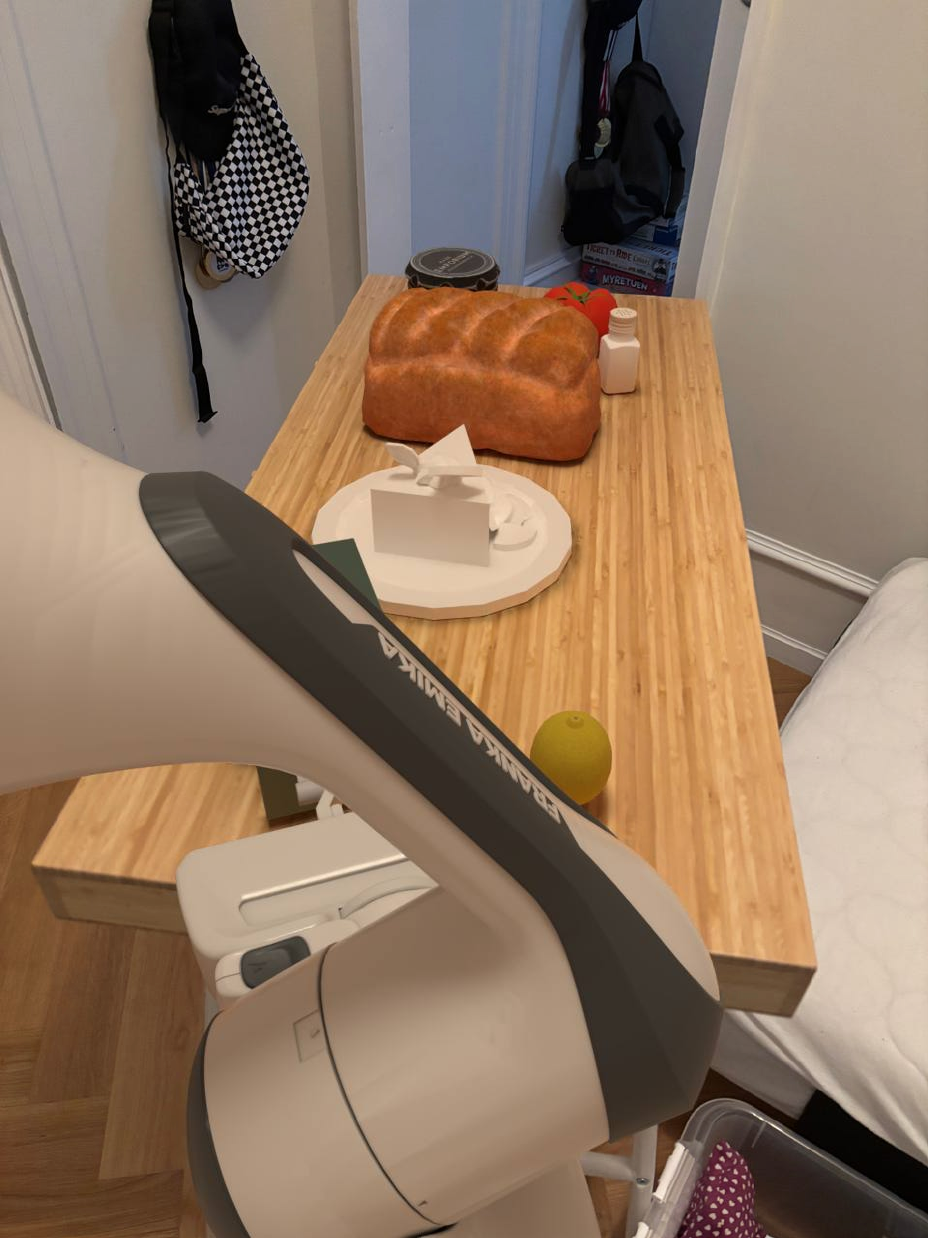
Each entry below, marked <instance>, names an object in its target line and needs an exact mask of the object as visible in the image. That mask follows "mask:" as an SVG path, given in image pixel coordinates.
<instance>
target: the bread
mask: <svg viewBox="0 0 928 1238" xmlns="http://www.w3.org/2000/svg"><path fill="white" fill-rule="evenodd" d="M598 353H599V350H598V332H597V329H596V328H595V326H594V325H593V323H592V322H591V321H590V320H589V319H588V318H587V317H586V316H585V315H584V314H583V313H581V312H579V311H578V310H576V309H575V308H574V307H572V306H568V307H565V306H564V305H563V304H562V303H561V302H559V301H557V300H555V299H551V298H547V297H542V296H541V297H540V296H539V297H530V298H529V297H527V298H523V297H521V296H519V295H517V294H515V293H511V292H505V291H478V292H472V291H469V290H465V289H458V288H451V287H440V288H435V289H431V290H426V289H424V288H412V289H408V288H407V289H405V290H403V291H402V292H400V293H399V294H396V295H395V296H393V297H392V298H390V299H389V300H388V302H387V303H385V305H384V306H383V307H382V308H381V310H380V311H379V312H378V314H377V316H376V318H375V319H374V320H373V323H372V325H371V328H370V331H369V341H368V354H369V355H368V356H367V359H366V362H365V364H364V368H363V370H364V371H363V376H364V379H363V380H364V387H363V394H362V401H361V416H362V417H361V418H362V422H363V423H364V424H365V425H366V426H367V427H368V428H369V429H370V430H372V431H373V432H374V433H375V435H378V436H382V437H386V438H391V439H395V440H401V441H402V440H403V441H412V442H423V443H431V444H432V443H433V444H436V443H437V442H438V441H440V440H441V439H443V438H444V437H446V436H447V435H449V434H450V433H451V432H453V431H454V430H456V429H457V428H459V427H460V426H461V425H463V424H464V426H465V429H466V432H467V435H468V438H469V441H470V444H471V447H472V450H483V449H491V450H493V451H496V452H499V453H501V454H506V455H511V456H516V457H523V458H529V459H537V460H544V461H546V460H547V461H558V462H565V461H566V462H567V461H571V460H572V461H573V460H576V459H580V458H582V457H584V456H585V455H586V453H587V451H588V450H589V448H590V446H591V445H592V442H593V438H594V434H595V433H596V432H597V431H598V430H599V426H600V422H601V417H602V409H601V404H600V402H601V392H602V391H601V390H602V388H601V377H600V368H599V365H598V363H599V361H598V360H597V355H598Z"/></svg>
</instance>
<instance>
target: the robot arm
mask: <svg viewBox="0 0 928 1238" xmlns="http://www.w3.org/2000/svg"><path fill="white" fill-rule="evenodd" d="M311 545H312V544H310V542H308V540H306V539H305V538H304V537H302V535H301V534H299V533H298V532H297V531H295V530H294V529H293V528H292V527H291V526H290V525H288V523H286V522H285V521H283V520H282V519H281V518H280V517H279V516H277V515H276V514H275V513H274V512H273V511H271V509H269V508H267V507H266V506H265V505H263V504H262V503H260V502H258V500H256V499H254V498H253V497H251V495H249V494H247V493H246V492H245V491H244V490H242V489H240V488H238V487H236V486H235V485H233V484H231V483H230V482H228V481H226V480H224V479H223V478H221V477H220V476H217V475H216V474H213V473H211V472H208V471H204V470H196V471H172V472H171V471H170V472H169V471H167V472H151V473H148V472H146V471H143V470H140V469H137V468H135V467H132V466H130V465H127V464H125V463H123V462H120V461H118V460H116V459H114V458H111V457H110V456H107V455H105V454H103V453H101V452H99V451H97V450H95V449H94V448H92V447H90V446H87V445H86V444H83V443H81V442H80V441H78V440H77V439H75V438H73V437H72V436H70V435H68V434H66V433H65V432H63V431H61V430H60V429H58V428H57V427H55V426H54V425H53V424H51V423H49V422H48V421H47V420H46V419H44V418H43V417H41V416H40V415H38V414H37V413H36V412H34V411H33V410H31V409H30V408H29V407H28V406H26V405H25V404H24V403H23V402H22V401H21V400H19V399H18V398H17V397H16V396H15V395H13V394H12V393H11V392H9V390H7V389H6V388H5V387H4V386H3V385H1V384H0V796H3V795H7V794H12V793H15V792H16V793H17V792H20V791H24V790H28V789H33V788H36V787H37V788H38V787H42V786H45V785H50V784H54V783H59V782H63V781H68V780H74V779H79V778H80V779H81V778H83V777H90V776H95V775H100V774H107V773H113V772H121V771H129V770H134V769H135V770H136V769H145V768H153V767H154V768H155V767H162V766H163V767H164V766H174V765H188V764H236V765H245V766H247V765H249V766H255V767H256V766H261V767H266V768H271V769H277V770H281V771H284V772H287V773H290V774H293V775H296V776H299V777H302V778H304V779H306V780H309V781H311V782H313V783H314V784H316V785H318V786H320V787H321V788H323V789H325V790H324V792H323V794H322V796H321V799H320V801H319V803H318V805H317V807H316V809H315V812H316V818H317V819H316V820H313V821H309V822H304V823H300V824H296V825H292V826H287V827H283V828H279V829H276V830H275V829H274V830H271V831H267V832H263V833H259V834H254V835H251V836H247V837H246V836H245V837H243V838H238V839H233V840H230V841H226V842H222V843H218V844H213V845H209V846H203V847H201V848H195V849H192V850H191V851H188V853H187V854H186V855H185V856H184V857H183V859H182V860H181V861H180V863H179V865H177V866H176V867H177V868H176V869H175V871H174V878H175V879H174V881H175V886H176V893H177V898H178V904H179V908H180V911H181V914H182V918H183V921H184V925H185V928H186V931H187V936H188V938H189V942H190V945H191V948H192V952H193V954H194V957H195V960H196V962H197V966H198V968H199V970H200V973H201V975H202V978H203V981H204V983H205V986H206V988H207V990H208V991H209V993H210V995H211V996H212V998H213V999H214V1000H215V1001H216V1005H217V1011H218V1012H217V1013H216V1014H215V1015H213V1017H212V1018H211V1019H210V1021H209V1023H208V1025H207V1027H206V1029H205V1031H204V1033H203V1035H202V1037H201V1040H200V1042H199V1044H198V1046H197V1050H196V1053H195V1056H194V1058H193V1061H192V1066H191V1069H190V1076H189V1079H188V1080H189V1081H188V1088H187V1099H186V1113H185V1115H186V1116H185V1117H186V1118H185V1119H186V1120H185V1123H186V1125H185V1126H186V1127H185V1128H186V1132H185V1133H186V1147H187V1158H188V1164H189V1170H190V1175H191V1180H192V1184H193V1185H192V1186H193V1188H194V1193H195V1196H196V1199H197V1203H198V1205H199V1208H200V1210H201V1213H202V1215H203V1217H204V1220H205V1222H206V1224H207V1226H208V1228H209V1229H210V1231H211V1233H212V1234H213V1236H214V1237H215V1238H602V1234H601V1231H600V1230H601V1229H600V1225H599V1222H598V1217H597V1214H596V1211H595V1206H594V1204H593V1200H592V1199H593V1198H592V1195H591V1192H590V1189H589V1186H588V1182H587V1179H586V1175H585V1172H584V1169H583V1166H582V1163H581V1159H580V1156H582V1155H584V1154H586V1153H587V1152H590V1151H591V1150H593V1149H595V1148H597V1147H599V1146H601V1145H602V1144H604V1143H606V1142H608V1143H609V1144H610V1145H612V1144H615V1143H618V1142H619V1141H622V1140H624V1139H627V1138H630V1137H631V1136H633V1135H635V1134H638V1133H641V1132H643V1131H645V1130H647V1129H650V1128H653V1127H654V1126H658V1125H659V1124H662V1123H664V1122H666V1121H669V1120H671V1119H674V1118H677V1117H678V1116H681V1115H683V1114H685V1113H688V1112H689V1111H692V1110H693V1109H694V1107H695V1105H696V1103H697V1100H698V1098H699V1096H700V1093H701V1091H702V1088H703V1086H704V1083H705V1080H706V1078H707V1075H708V1072H709V1070H710V1068H711V1067H710V1066H711V1064H712V1061H713V1058H714V1055H715V1051H716V1048H717V1044H718V1041H719V1037H720V1033H721V1029H722V1024H723V1018H724V1013H725V1009H726V1003H725V999H724V995H723V993H722V991H721V988H720V986H719V981H718V976H717V973H716V969H715V966H714V962H713V959H712V957H711V954H710V952H709V950H708V947H707V945H706V943H705V940H704V938H703V936H702V934H701V932H700V930H699V928H698V927H697V925H696V923H695V921H694V919H693V917H692V916H691V915H690V913H689V911H688V909H687V908H686V906H685V905H684V904H683V902H682V901H681V899H680V898H679V896H678V895H677V894H676V892H675V891H674V889H673V888H672V887H671V886H670V884H669V883H668V882H667V881H666V879H664V878H663V876H662V875H661V874H660V873H659V872H658V871H657V870H656V868H654V867H653V865H651V864H650V862H648V861H647V860H646V859H645V858H643V857H642V856H641V855H640V854H639V853H638V852H637V851H635V850H634V849H632V847H630V846H628V845H627V844H626V843H624V842H623V841H622V840H620V838H618V836H617V835H616V834H614V832H613V831H611V830H610V829H609V827H607V826H606V825H604V823H602V822H601V821H600V820H599V819H597V818H596V817H595V816H594V815H592V814H591V812H589V811H588V810H586V809H585V808H584V807H582V805H579V804H577V803H576V802H575V801H574V800H572V799H571V798H570V797H569V796H567V795H566V794H565V793H564V792H563V791H562V790H561V789H560V788H558V787H557V786H556V785H555V784H554V783H553V782H552V781H551V780H550V779H549V778H548V777H547V776H546V775H545V774H544V773H543V772H542V771H541V770H540V769H539V768H538V767H537V766H536V765H535V764H534V763H533V762H532V761H531V760H530V757H528V756H527V755H526V754H525V753H524V752H523V751H522V750H521V749H520V748H519V747H518V746H517V745H516V744H515V743H514V742H513V740H511V739H510V738H509V737H508V736H507V735H506V734H505V733H504V732H503V731H502V730H501V728H499V727H498V726H497V725H496V724H495V723H494V722H493V720H491V719H490V718H489V717H488V716H487V715H486V714H485V713H484V712H483V711H482V710H481V709H480V708H479V707H478V706H477V705H476V704H475V703H474V702H473V701H472V700H471V699H470V698H469V697H468V696H467V695H466V694H465V693H464V692H463V691H462V690H461V689H460V688H459V687H458V686H457V685H456V683H454V682H453V680H451V678H450V677H448V676H447V675H446V674H445V673H444V672H443V671H442V670H441V669H440V668H439V667H438V666H437V664H435V663H434V661H432V660H431V658H430V657H429V656H427V655H426V654H425V652H423V651H422V649H420V648H419V647H418V645H416V644H415V642H413V641H412V640H411V639H410V638H409V636H407V634H405V633H404V632H403V631H402V630H401V629H400V628H399V627H398V626H397V625H396V624H395V623H394V622H393V621H392V620H391V619H390V618H389V617H388V616H387V615H386V614H385V613H384V612H383V613H382V612H381V611H380V610H379V609H378V608H377V607H376V606H375V605H374V604H373V603H372V602H371V601H370V600H369V599H368V598H367V597H366V596H365V595H363V594H362V593H361V592H360V591H359V590H358V589H357V588H356V587H355V586H354V585H353V584H352V583H351V582H350V581H349V580H348V579H347V578H346V577H345V576H344V575H342V574H341V573H340V572H339V571H338V570H337V569H336V568H335V567H334V566H333V565H332V564H331V563H330V562H329V561H328V560H326V559H325V558H324V557H323V556H322V555H321V554H320V553H319V552H318V551H317V550H316V549H315V548H313V547H312V546H311ZM343 806H345V807H347V808H348V809H349V810H350V812H346V813H344V809H343Z"/></svg>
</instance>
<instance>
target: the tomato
mask: <svg viewBox="0 0 928 1238" xmlns="http://www.w3.org/2000/svg"><path fill="white" fill-rule="evenodd" d="M543 297H547V298H551V299H555V300H557V301H559V302H561V303H562V304H563V305H564V306H565V307H568V306H572V307H574V308H575V309H576V310H578V311H579V312H581V313H583V314H584V315H585V316H586V317H587V318H588V319H589V320H590V321H591V322H592V323H593V325H594V326H595V328H596V329H597V332H598V351H600V344H601V338H602V337H603V336H604V335H607V334H609V320H610V311H611V310H613V309H616V308H619V307H618V303H617V299H616V298H615V297H614V296H613V295H612V293H610V291H609V290H608V289H607V288H596V289H594V290H590V289H589V288H588V287H587V286H586V285H585V284H583V283H579V282H576V281H574V282H565V283H562V286H553V287H552V288H551V289H550V290H548V292H546V293H545V294H544V295H543Z"/></svg>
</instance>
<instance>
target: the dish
mask: <svg viewBox="0 0 928 1238" xmlns="http://www.w3.org/2000/svg"><path fill="white" fill-rule="evenodd" d="M384 446H385V448H386V449H385V450H386V451H387V454H388V456H390V457H391V459H392V460H393V461H395V462H397V463H398V464H400V465H397V466H393V467H389V468H385V469H381V470H377V471H373V472H370V473H369V474H366V475H364V476H363V477H361V478H359V479H356V480H355V481H353V482H351V483H349V484H346V485H345V486H342V487H340V488H339V489H338V490H337V491H336V492H335V493H334V494H333V496H331V497H330V498H329V499H328V500H327V501H326V503H324V505H322V506H321V508H319V510H318V512H317V515H316V518H315V521H314V525H313V528H312V532H311V535H310V538H311V545H315V544H321V543H327V542H333V541H339V540H345V539H351V538H354V540H355V543H356V546H357V548H358V551H359V553H360V556H361V558H362V561H363V563H364V566H365V568H366V571H367V573H368V576H369V579H370V581H371V584H372V586H373V589H374V591H375V594H376V596H377V599H378V601H379V604H380V606H381V609H382V612H383V614H389V615H397V616H403V617H411V618H416V619H417V618H418V619H423V620H432V621H438V620H439V621H440V620H450V619H452V620H454V619H463V618H475V617H476V618H477V617H484V616H488V615H491V614H494V613H497V612H500V611H504V610H507V609H509V608H513V607H516V606H518V605H522V604H525V603H527V602H528V601H530V600H531V599H533V598H534V597H536V596H537V595H538V594H540V593H542V591H545V589H547V588H549V586H551V585H552V584H553V583H555V582H557V580H558V579H559V577H560V576H561V574H562V572H563V570H564V569H565V566H566V565H567V563H568V561H569V560H570V558H571V556H572V550H573V549H572V547H573V539H572V537H573V536H572V524H571V517H570V516H569V515H568V513H567V511H566V510H565V509H564V507H563V506H562V504H561V503H560V502H559V501H558V499H557V497H556V496H555V495H554V494H553V493H551V492H549V491H548V490H546V489H545V488H543V487H542V486H540V485H539V484H537V483H536V482H534V481H533V480H531V479H530V478H528V477H527V476H523V475H520V474H517V473H514V472H512V471H508V470H505V469H502V468H499V467H495V466H493V465H488V464H479V463H477V460H476V457H475V454H474V451H473V449H472V447H471V444H470V441H469V438H468V435H467V432H466V429H465V426H464V424H463V425H461V426H460V427H459V428H457V429H456V430H454V431H453V432H451V433H450V434H449V435H447V436H446V437H444V438H443V439H441V440H440V441H438V442H437V443H436V444H435V443H433V445H431V446H430V447H428V448H427V449H426V450H424V451H422V452H421V453H420V454H419V455H418V454H417V452H416V451H415V450H414V449H413V448H411V447H410V446H409V445H408V446H407V445H406V444H403V443H398V442H386V443H385V445H384Z"/></svg>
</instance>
